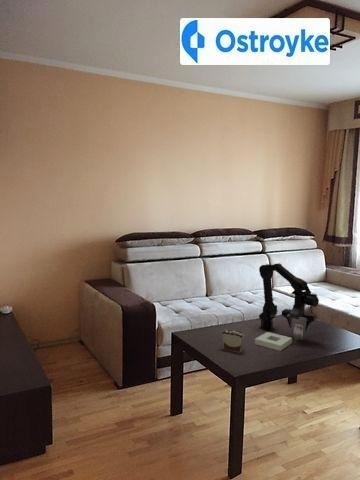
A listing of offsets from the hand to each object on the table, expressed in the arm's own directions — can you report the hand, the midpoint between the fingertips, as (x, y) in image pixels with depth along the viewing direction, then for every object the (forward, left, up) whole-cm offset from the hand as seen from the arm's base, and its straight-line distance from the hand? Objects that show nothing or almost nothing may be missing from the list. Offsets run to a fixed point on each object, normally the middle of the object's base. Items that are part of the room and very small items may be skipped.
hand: (298, 329), depth 225 cm
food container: (-20, -37, -6) cm, 42 cm away
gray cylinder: (0, 0, -6) cm, 6 cm away
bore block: (-7, -16, -6) cm, 19 cm away
